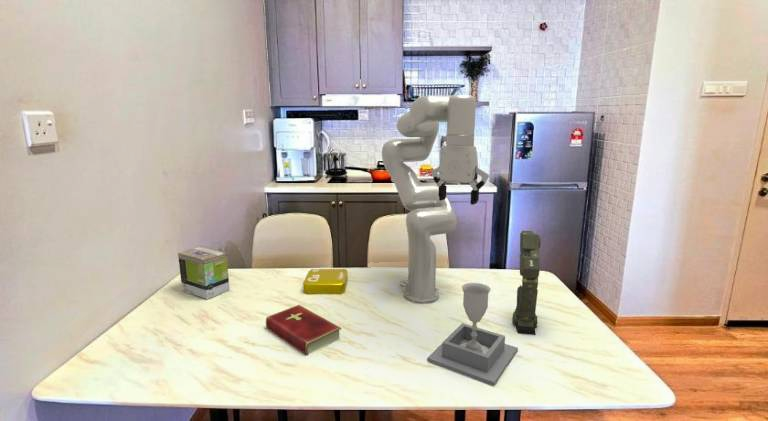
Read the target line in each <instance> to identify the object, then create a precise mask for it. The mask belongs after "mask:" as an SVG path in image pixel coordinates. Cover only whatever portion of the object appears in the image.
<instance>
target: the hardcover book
mask: <svg viewBox="0 0 768 421" xmlns="http://www.w3.org/2000/svg"><path fill="white" fill-rule="evenodd" d="M265 326H266V327H265V328H266V329H268V330H269V331H271V332H273V333H274V334H275V335H277V337H280V338H281V339H282V340H284V341H285V342H287V343H288V344H290V345H292V346H293V347H295V348H296V349H297V350H299V351H300V352H302V353H303V354H305V355H306V356H308V355H309V354H311V353H313V352H316V351H318V350H320V349H321V348H323V347H325V346H327V345H330V344H332V343H334V342H336V341H338V340H340V330H342V327H341V326H339V325H337V324H335V323H333V322H331V321H330V320H328V319H326V318H325V317H323V316H321V315H319V314H317V313H315V312H314V311H312V310H310V309H308V308H307V307H304V306H303V305H300V304H298V305H294V306H292V307H289V308H287V309H286V308H285V309H284V310H281V311H278V312H277V313H274V314H270V315H268V316H266V318H265Z"/></svg>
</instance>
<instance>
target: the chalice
mask: <svg viewBox="0 0 768 421" xmlns="http://www.w3.org/2000/svg"><path fill="white" fill-rule="evenodd" d="M461 289H462V291H463V296H462V297H463V301H462V302H463V303H462V306H463V309H464V312H465V314H466V316H467V319H468V320H469V321H470V322H472V324H471V326H472V327H471V329H472V333H471V336H472V340H471V341H469V342H468V343H467V345H466V346H465V347H466V348H469V349H472V350H475V351H478V352H481V353H483V350H482V348H481V345H480V344H479V342H477V341H476V336H477V333H476V330H477V329H478V328H479V327H477V323H480V321H482V319H483V317H484V316H485V314H486V312H487V310H488V307H489V306H488V305H489V293H490V292H491V290H492V289H491V287H490V286H488V285H486V284H483V283H480V282H468V283H464V284H462V285H461Z"/></svg>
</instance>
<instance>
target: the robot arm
mask: <svg viewBox="0 0 768 421" xmlns="http://www.w3.org/2000/svg"><path fill="white" fill-rule="evenodd" d="M476 106H477V101H476V97H475V96H474V95H472V94H454V95H453V94H451V95H446V94H428V95H423V96H420V97H418V98H417V99H415V100H414V101H413V102H411V105H410V107H409V111H407V112H405V113H404V114H402V115H401V116H400V117H399V118H398V120H397V122H396V129H397V131H398V133H399V134H400V135H401V136H403V137H406V138H396V139H395V138H394V139H391V140H388V141H386V142H384V143H383V146H382V149H381V158H382V164H383V165H384V168H385V170H386V172H387V174H388V175H389V176H390V178H391V180H392V181H393V182H394V186H395V188H396V191H397V194H398V196H399V198H400V201H401V203H402V205H403V207H404V209H406V210H408V211H409V212H408V213H407V215H406V216H405V225H406V226H405V227H406V232H407V238H408V239H407V241H408V242H407V243H408V253H407V254H408V263H407V264H408V271H407V272H408V273H407V275H408V276H407V277H408V278H407V279H405V278H400V280H399V287H403V288H405V289H404V290H403V297H404V298H405V299H406V300H408V301H410V302H413V303H418V304H419V303H420V304H428V303H433V302H435V301H437V300H438V299H439V298H440V291H439V290H438V289H437V288H436V277H437V276H436V274H437V273H436V270H437V247H436V244H435V243H434V242H433V240H432V238H431V237H432V236H437V235H444V234H450V233H452V232H454V230H456V228H457V224H458V221H457V215H456V213H455V210H454V208H453V205H452V202H451V201H450V199H449V197H448V196H449V195H448V194H447V188H448V187H447V185H446V184H447V183H454V184H455V183H456V184H469V185H470V187H471V188H472V190H470V205H473V206H474V205H475V204H476V205H477V203H478V202H479V196H480V189H482V187H484V186H485V185H486V184H487V183H486V182H487V181H488V179H489V177H490V175H489V174H488V173H487V172H485V171H483V170H482V169H480V168H479V161H478V152H477V146H475V127H476V126H475V125H476V109H477V108H476ZM440 123H446V135H445V136H442V137H441V138H442V142H445V145H444V146H442V152H441V156H440V162H439V166H437V167H436V168H433V169H431V171H430V174H431V176H432V178H433V181H434V182H432V181H431V182H422V181H420V180H419V178H418V176H417V173H416V172H415V171H414V170H413V168H411V167H410V166H409V165H407V164H406V163H411V162H412V163H413V162H424V161H426V160H427V159H428V158H429V156H430V154H431V152H432V149H433V148H434V147H433V146H434V144H435V141H436V139H437V137H438V134H439V128H440ZM479 177H480V178H481V179H480V181H478V178H479Z"/></svg>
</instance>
